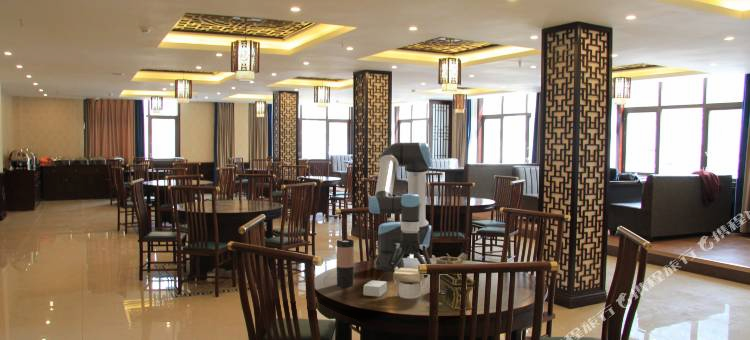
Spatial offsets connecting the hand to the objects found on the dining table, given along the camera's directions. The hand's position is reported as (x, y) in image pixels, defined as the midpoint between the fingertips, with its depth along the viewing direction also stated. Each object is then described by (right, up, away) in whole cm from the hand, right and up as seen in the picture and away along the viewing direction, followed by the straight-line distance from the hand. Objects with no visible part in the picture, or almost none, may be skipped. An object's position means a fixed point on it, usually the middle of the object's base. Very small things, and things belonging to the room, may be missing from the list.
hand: (409, 284), depth 233 cm
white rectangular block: (-14, -5, +5) cm, 16 cm away
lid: (0, +2, 0) cm, 2 cm away
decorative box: (+18, -6, -10) cm, 21 cm away
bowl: (0, -5, 0) cm, 5 cm away
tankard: (+20, -5, +11) cm, 23 cm away
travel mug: (-28, -4, +18) cm, 33 cm away
